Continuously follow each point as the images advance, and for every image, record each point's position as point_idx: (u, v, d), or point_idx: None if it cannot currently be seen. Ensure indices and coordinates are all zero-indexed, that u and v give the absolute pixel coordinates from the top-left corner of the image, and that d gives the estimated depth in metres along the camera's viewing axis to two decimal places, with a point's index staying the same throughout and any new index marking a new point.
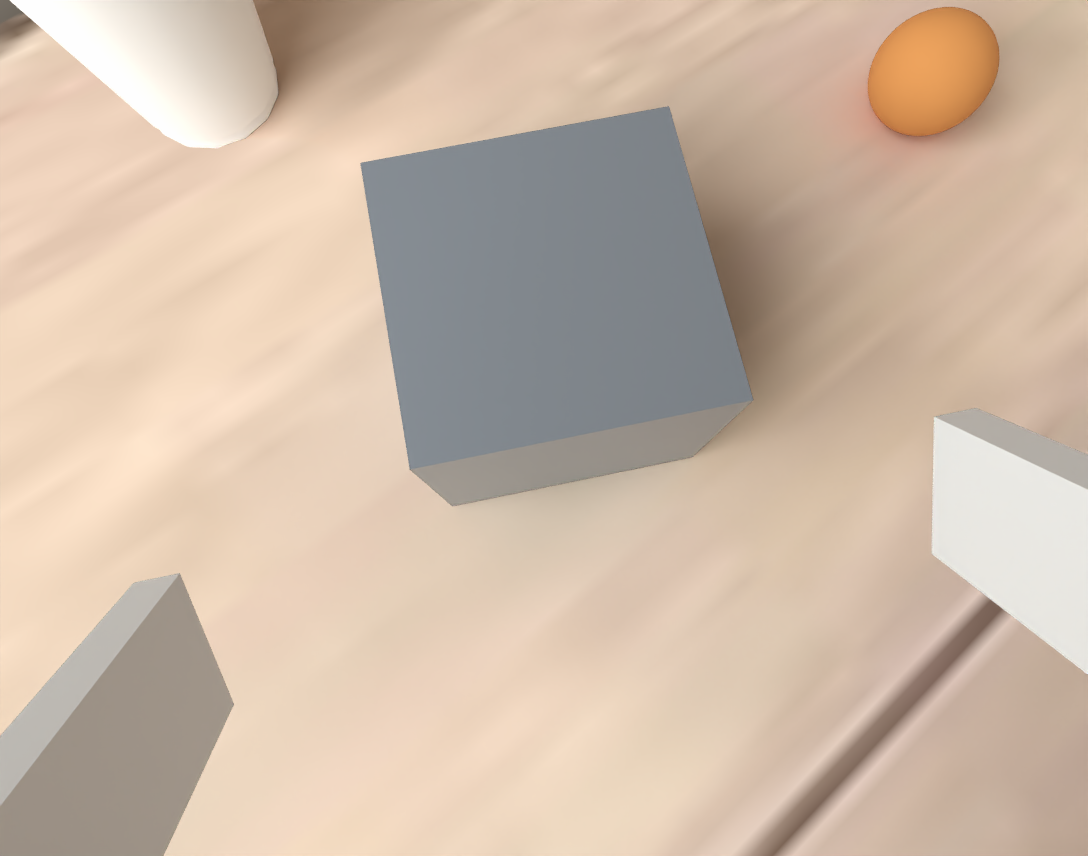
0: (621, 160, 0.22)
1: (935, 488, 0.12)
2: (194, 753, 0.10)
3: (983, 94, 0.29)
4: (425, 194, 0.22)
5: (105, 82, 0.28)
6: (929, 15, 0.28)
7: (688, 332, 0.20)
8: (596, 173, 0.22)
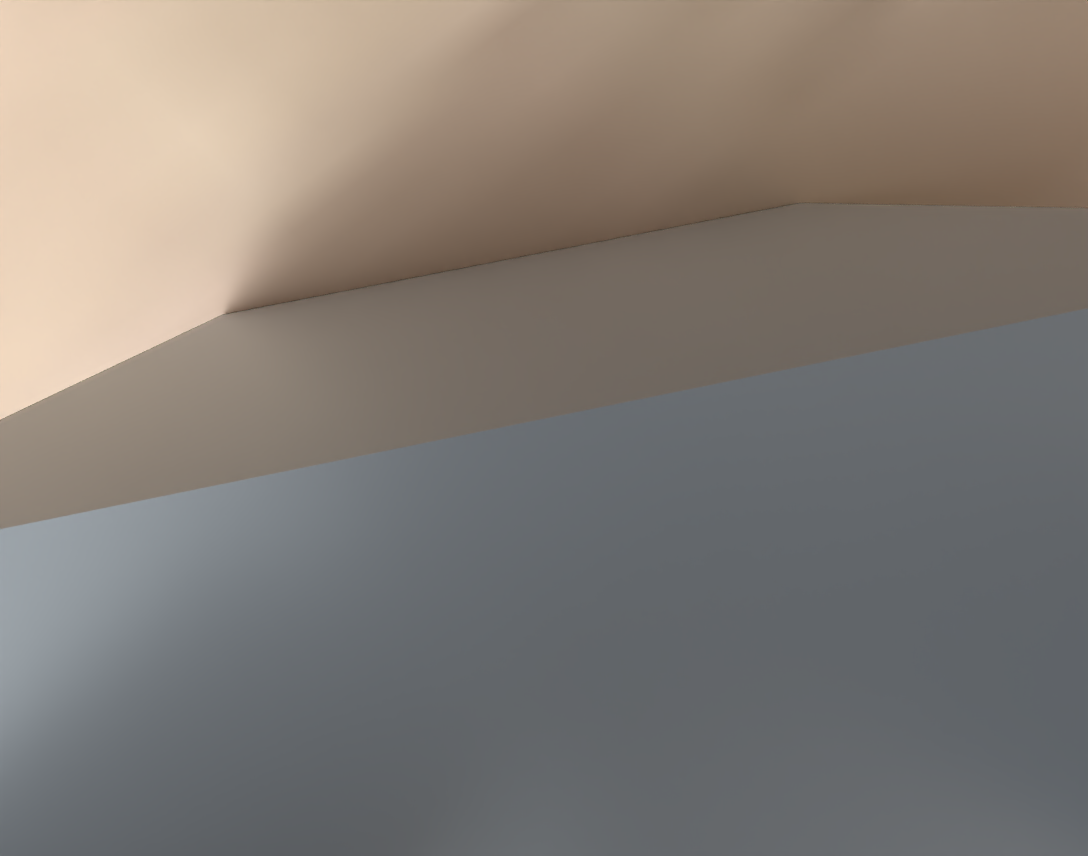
0: None
1: None
2: None
3: None
4: (108, 768, 0.04)
5: None
6: None
7: None
8: (1018, 624, 0.04)
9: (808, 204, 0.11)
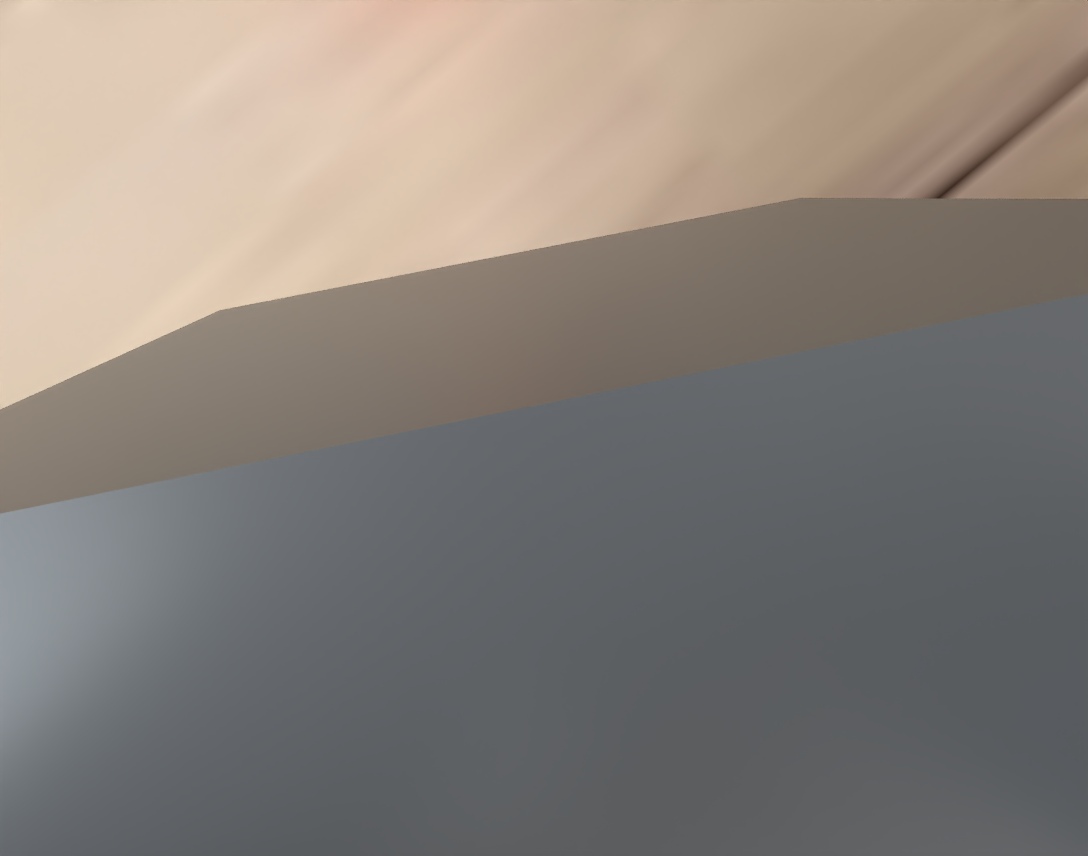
0: None
1: None
2: None
3: None
4: (102, 758, 0.04)
5: None
6: None
7: None
8: (1019, 613, 0.04)
9: (808, 199, 0.11)
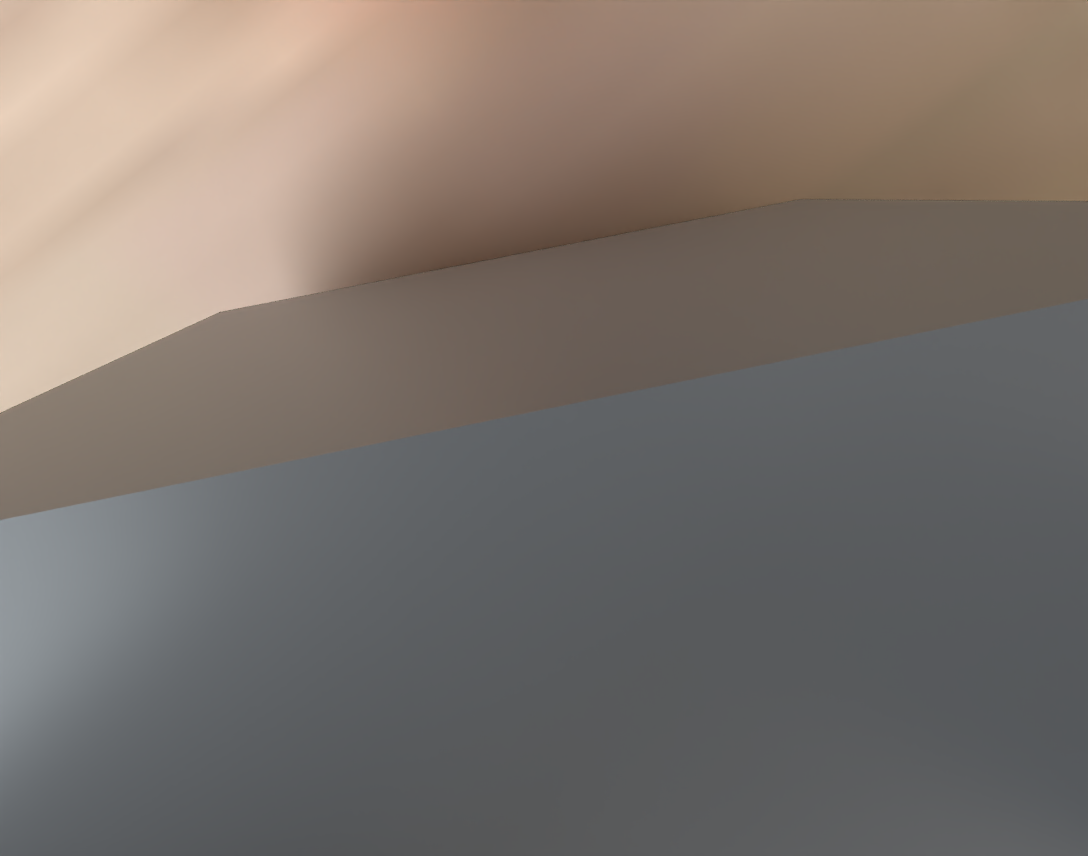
0: None
1: None
2: None
3: None
4: (101, 765, 0.04)
5: None
6: None
7: None
8: (1021, 618, 0.04)
9: (808, 200, 0.11)
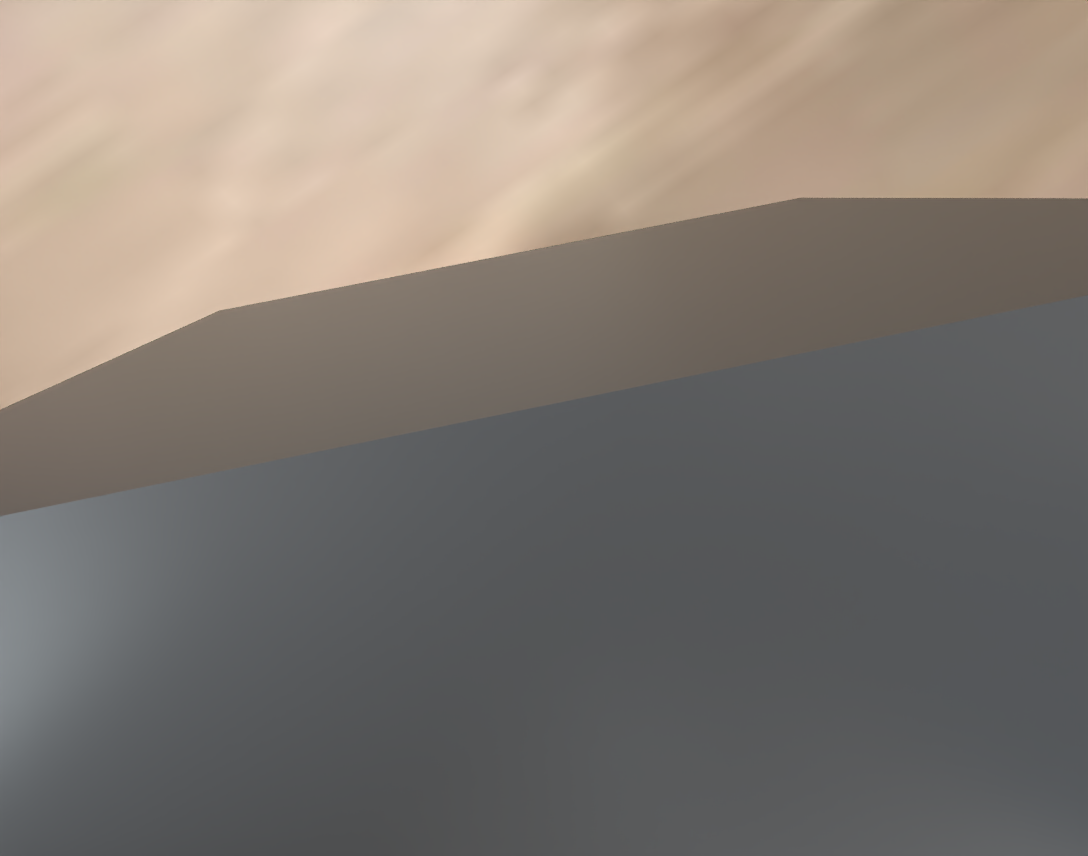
0: None
1: None
2: None
3: None
4: (98, 763, 0.04)
5: None
6: None
7: None
8: (1023, 616, 0.04)
9: (809, 199, 0.11)
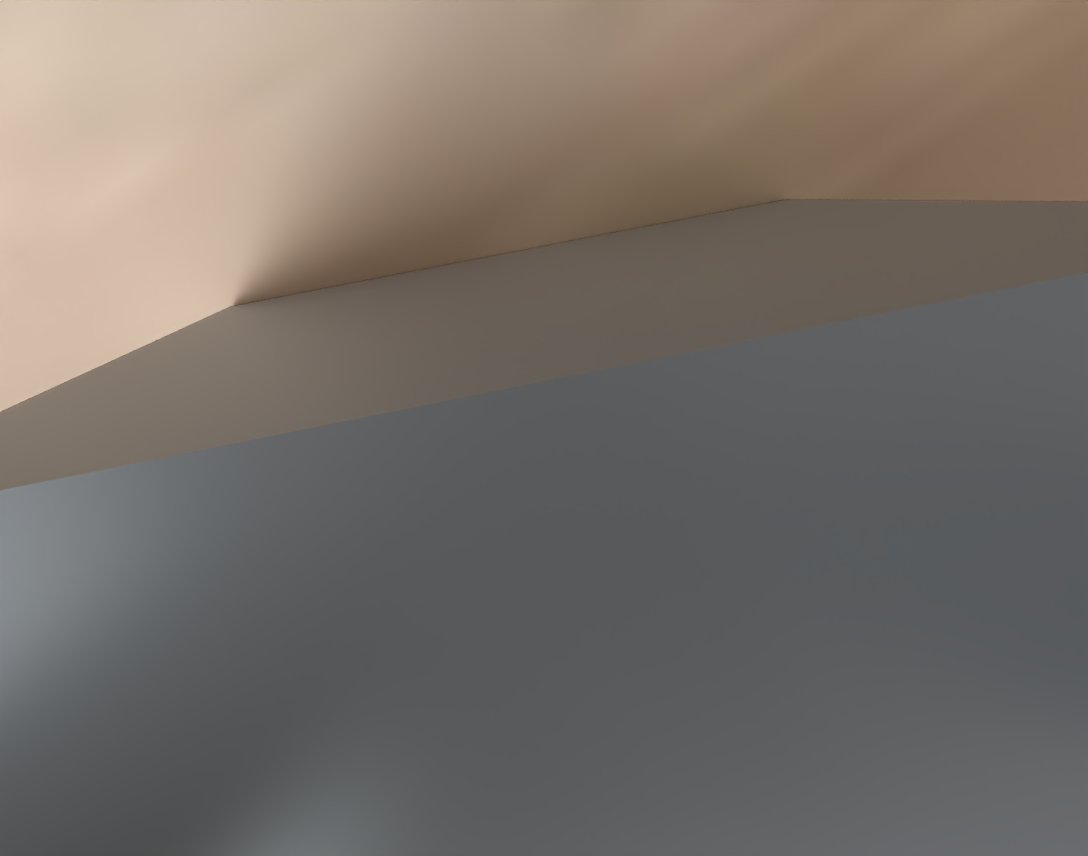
0: None
1: None
2: None
3: None
4: (142, 700, 0.04)
5: None
6: None
7: None
8: (965, 575, 0.05)
9: (795, 200, 0.12)
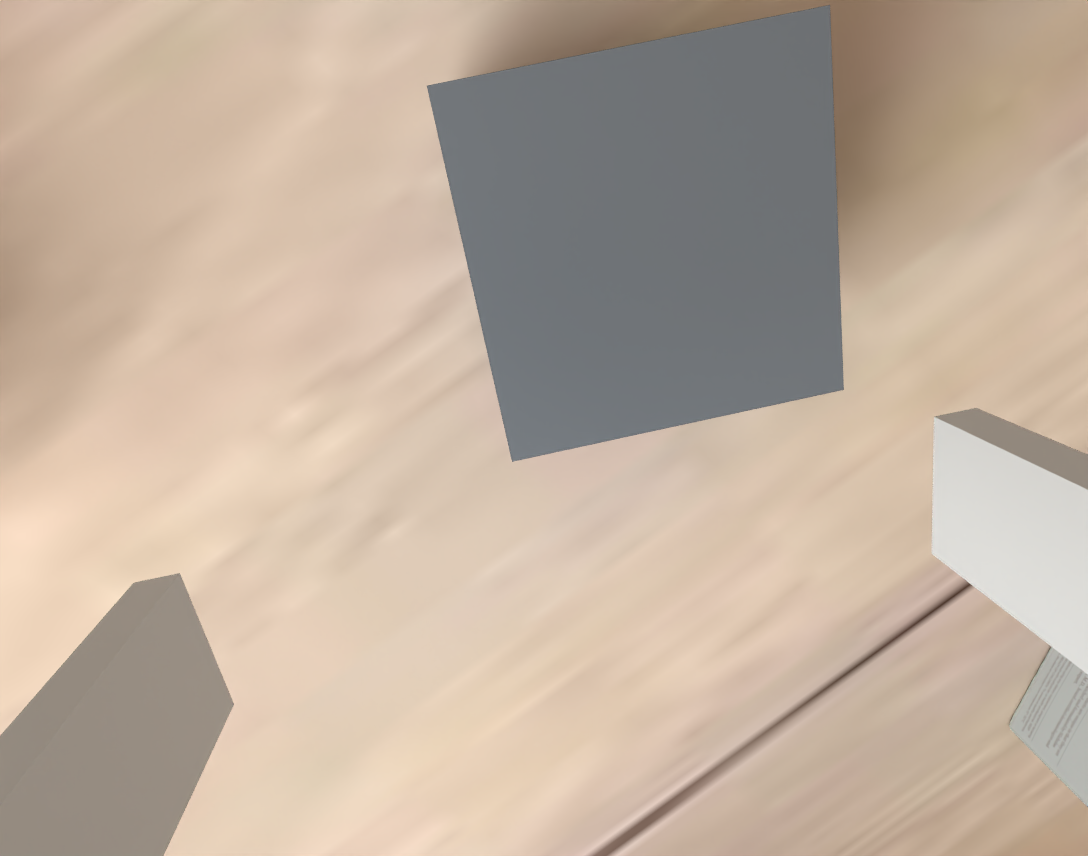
0: (758, 92, 0.17)
1: (935, 488, 0.12)
2: (194, 752, 0.10)
3: None
4: (514, 138, 0.17)
5: None
6: None
7: (796, 320, 0.20)
8: (725, 111, 0.18)
9: None
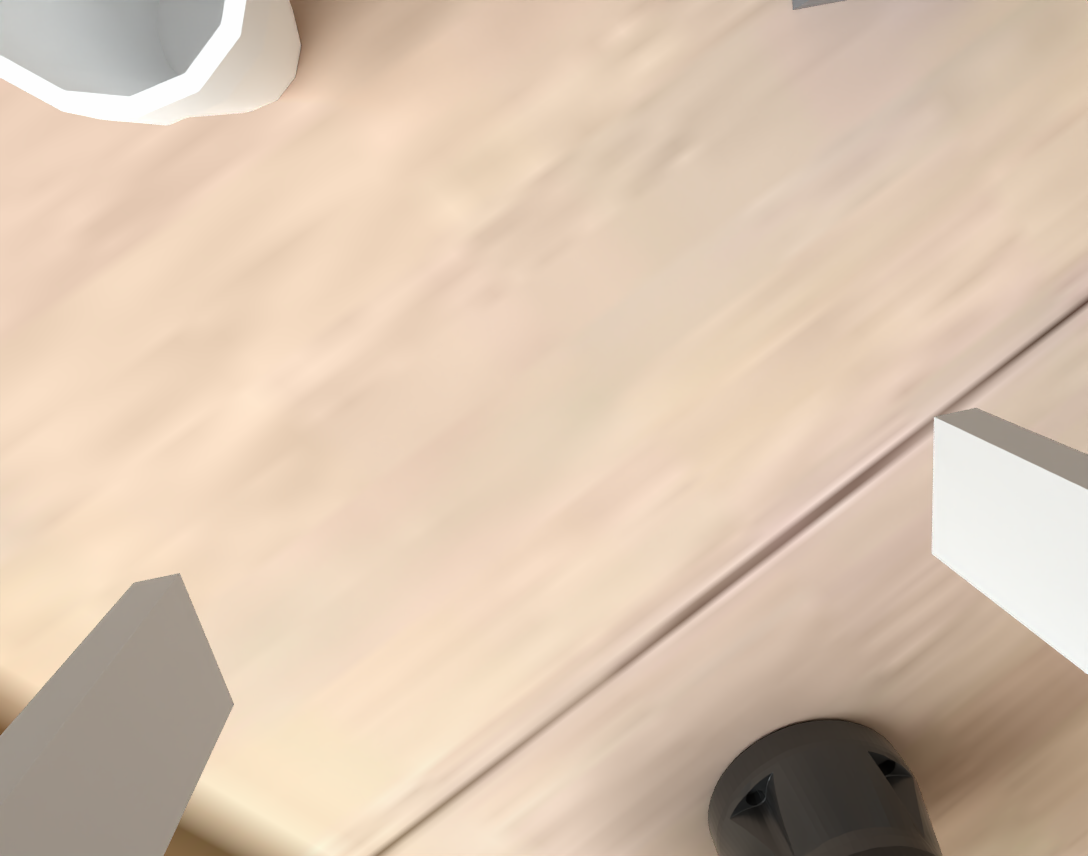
0: None
1: (935, 488, 0.12)
2: (193, 752, 0.10)
3: None
4: None
5: None
6: None
7: None
8: None
9: None
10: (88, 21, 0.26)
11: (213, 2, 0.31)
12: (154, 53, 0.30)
